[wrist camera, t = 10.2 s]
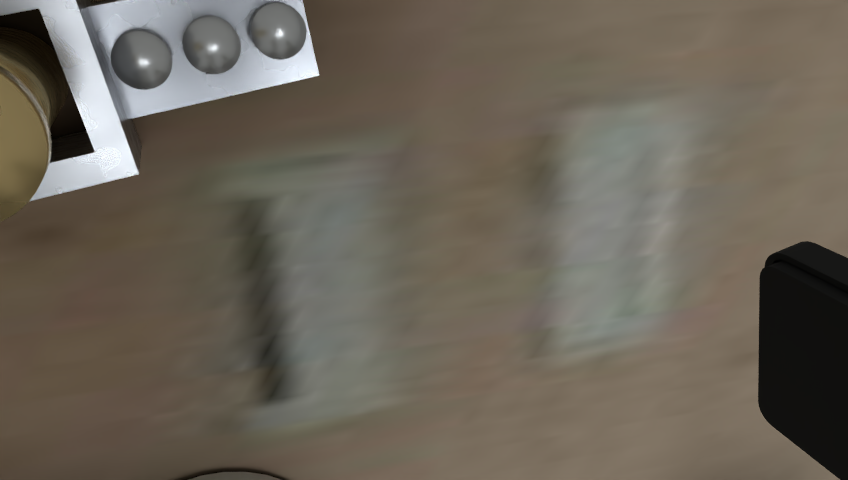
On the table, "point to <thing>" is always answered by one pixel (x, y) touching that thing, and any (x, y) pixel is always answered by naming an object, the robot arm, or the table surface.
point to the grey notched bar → (158, 68)
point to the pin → (26, 114)
